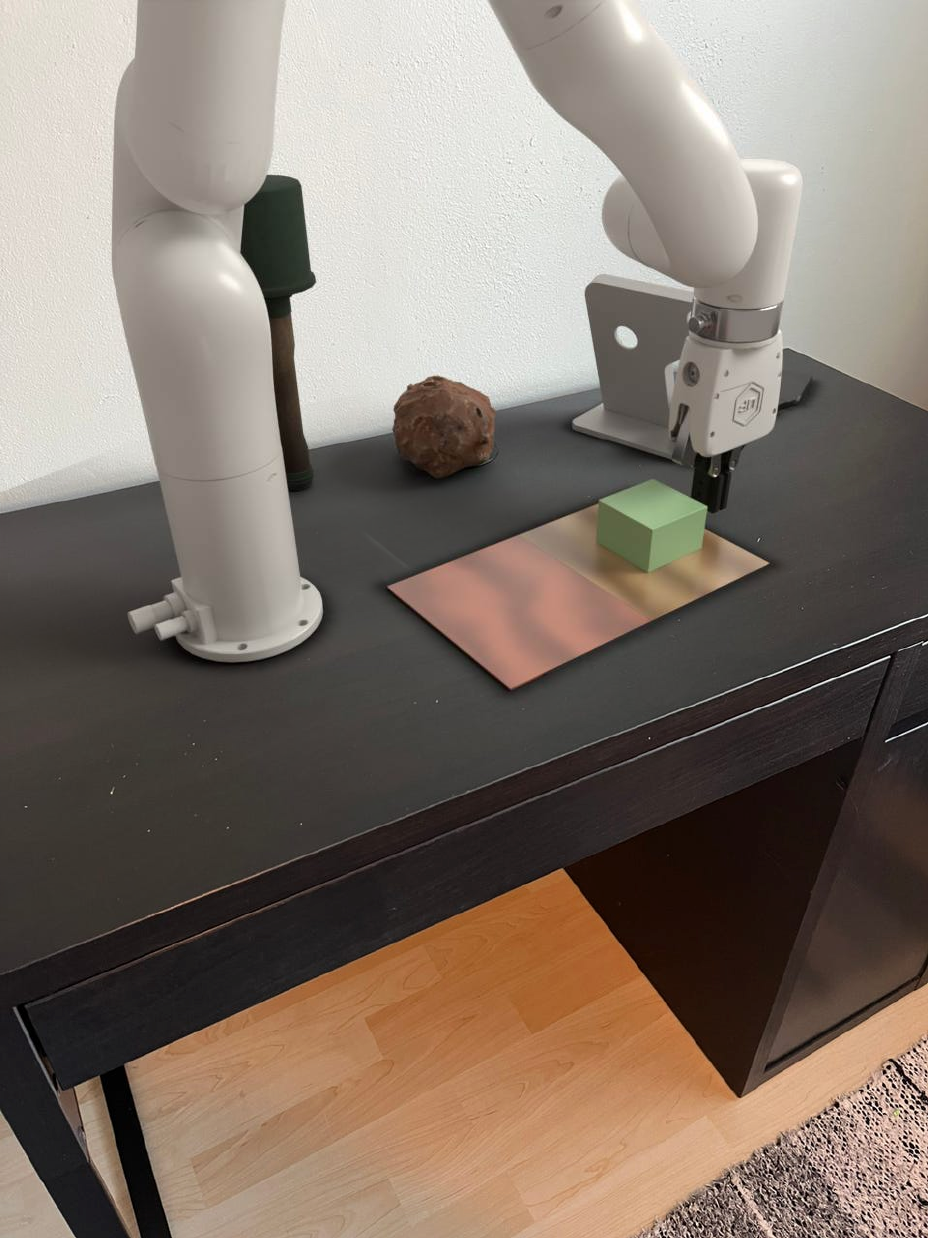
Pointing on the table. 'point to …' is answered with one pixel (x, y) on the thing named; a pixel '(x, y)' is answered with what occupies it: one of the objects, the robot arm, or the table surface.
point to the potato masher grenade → (281, 301)
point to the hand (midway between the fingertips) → (707, 505)
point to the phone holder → (635, 360)
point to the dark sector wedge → (793, 388)
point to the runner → (558, 595)
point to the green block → (650, 524)
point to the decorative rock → (443, 426)
